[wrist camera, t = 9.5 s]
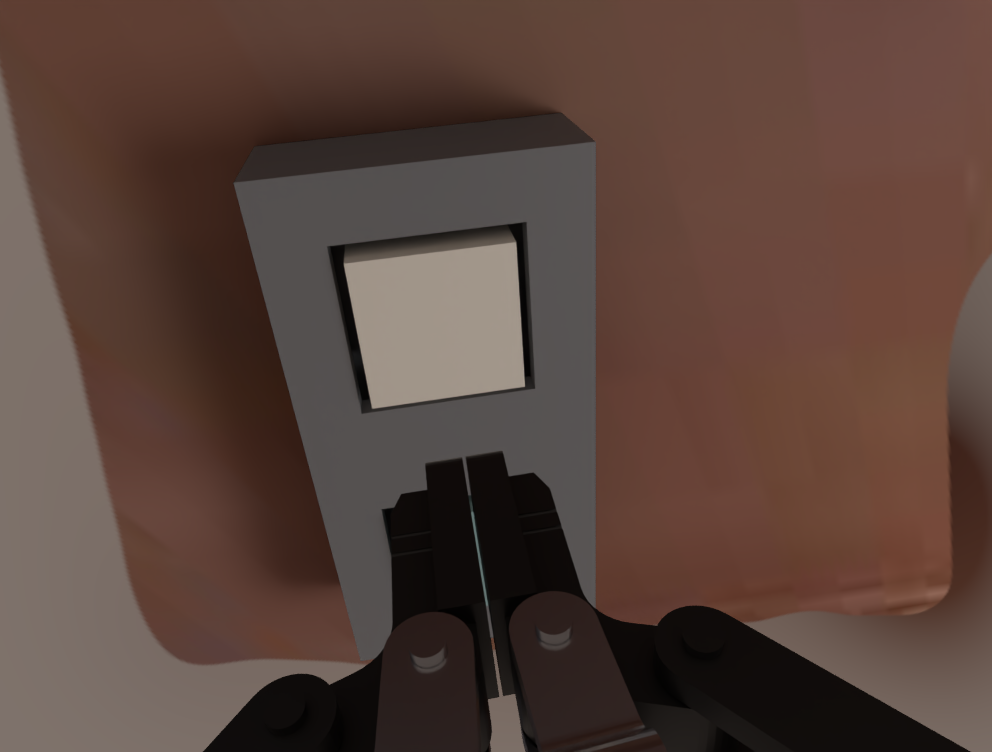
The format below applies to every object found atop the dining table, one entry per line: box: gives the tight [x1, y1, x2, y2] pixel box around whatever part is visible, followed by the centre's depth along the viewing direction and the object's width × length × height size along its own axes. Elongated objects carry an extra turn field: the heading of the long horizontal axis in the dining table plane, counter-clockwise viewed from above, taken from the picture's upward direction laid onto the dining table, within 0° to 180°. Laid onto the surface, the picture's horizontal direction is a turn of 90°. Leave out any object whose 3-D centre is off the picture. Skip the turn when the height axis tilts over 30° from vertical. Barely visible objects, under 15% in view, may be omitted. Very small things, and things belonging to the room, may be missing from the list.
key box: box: [234, 113, 596, 661], centre depth 32 cm, size 12×24×5 cm, turn 4°
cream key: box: [344, 224, 525, 409], centre depth 28 cm, size 6×6×3 cm
